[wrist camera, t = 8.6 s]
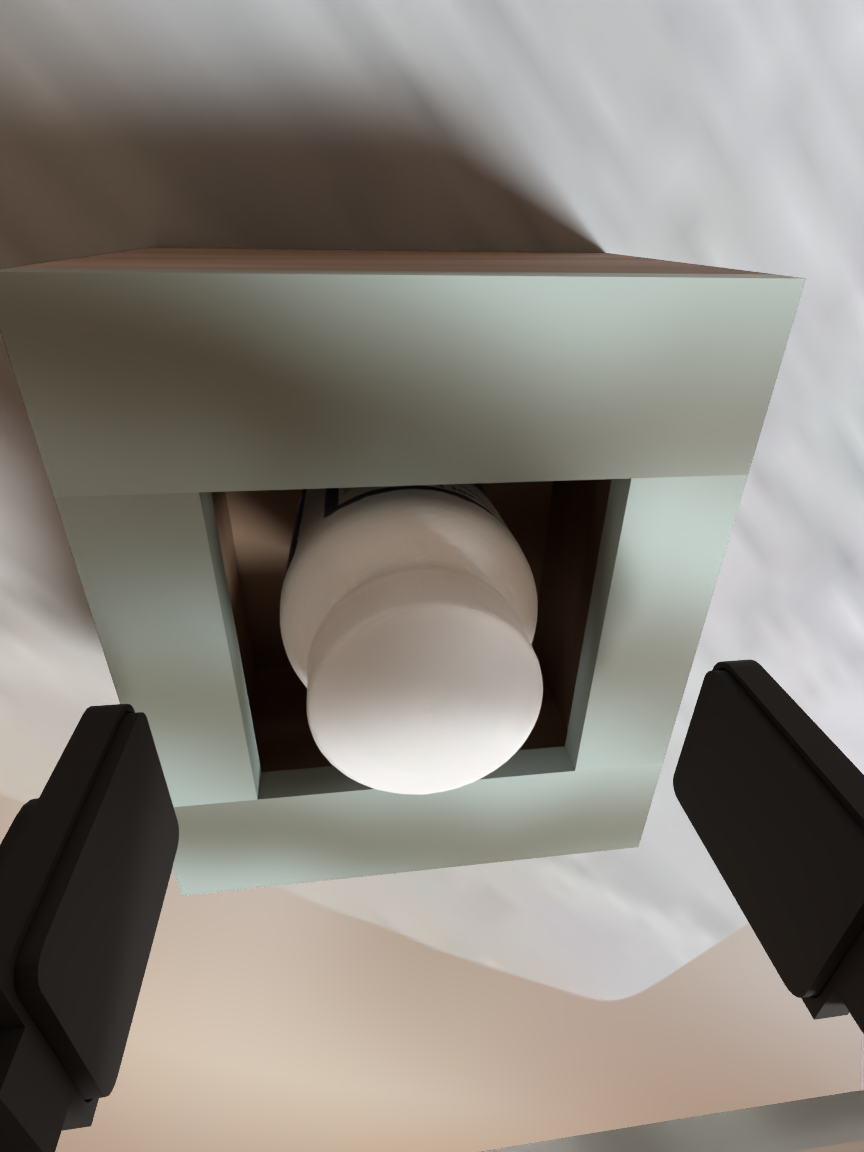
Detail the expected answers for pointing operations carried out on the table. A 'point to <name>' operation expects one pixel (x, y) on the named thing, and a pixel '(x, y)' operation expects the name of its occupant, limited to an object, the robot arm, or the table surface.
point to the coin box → (393, 458)
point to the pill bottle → (411, 633)
